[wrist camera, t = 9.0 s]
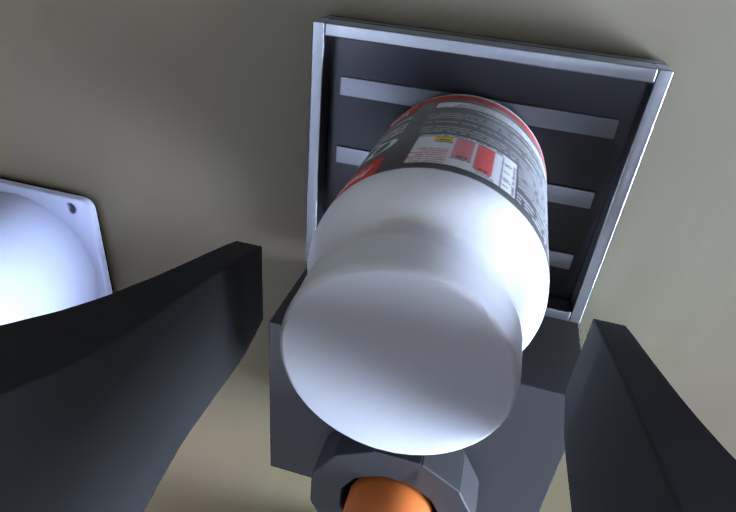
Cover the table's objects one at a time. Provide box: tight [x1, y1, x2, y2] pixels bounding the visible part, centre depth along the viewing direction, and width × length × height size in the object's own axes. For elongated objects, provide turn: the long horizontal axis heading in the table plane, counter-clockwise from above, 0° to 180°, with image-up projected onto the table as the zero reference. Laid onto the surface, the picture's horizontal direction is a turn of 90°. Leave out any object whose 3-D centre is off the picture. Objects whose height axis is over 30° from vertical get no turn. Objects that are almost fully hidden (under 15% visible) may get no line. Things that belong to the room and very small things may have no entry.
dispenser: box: [269, 268, 581, 512], centre depth 22 cm, size 11×9×6 cm
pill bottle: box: [280, 94, 550, 455], centre depth 14 cm, size 6×6×10 cm
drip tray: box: [305, 16, 674, 324], centre depth 18 cm, size 10×9×1 cm
